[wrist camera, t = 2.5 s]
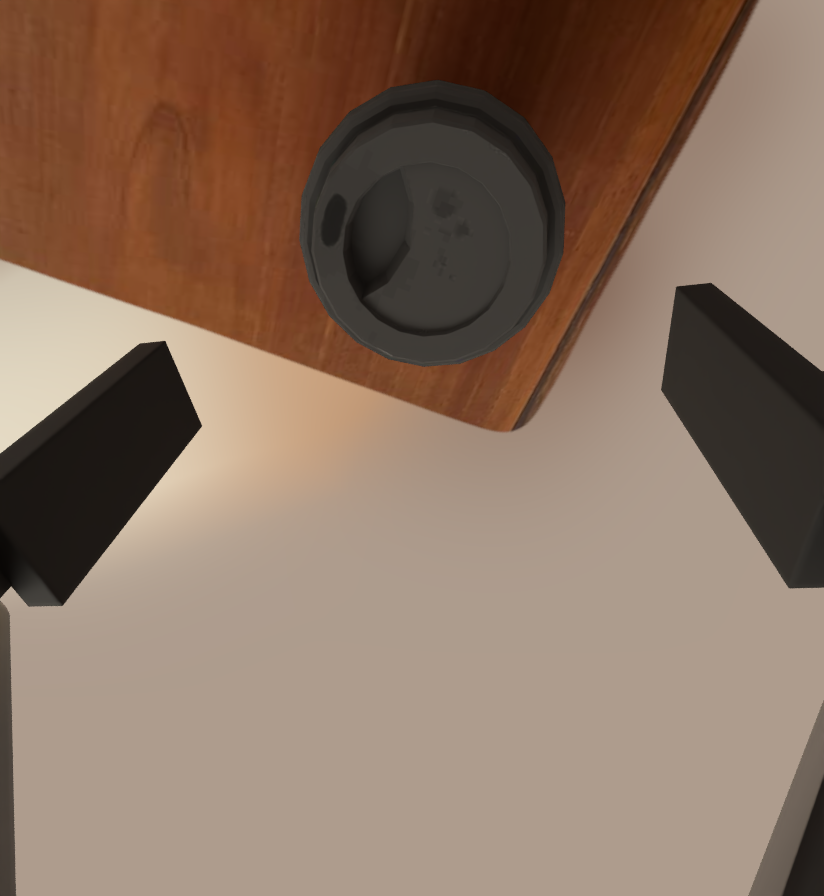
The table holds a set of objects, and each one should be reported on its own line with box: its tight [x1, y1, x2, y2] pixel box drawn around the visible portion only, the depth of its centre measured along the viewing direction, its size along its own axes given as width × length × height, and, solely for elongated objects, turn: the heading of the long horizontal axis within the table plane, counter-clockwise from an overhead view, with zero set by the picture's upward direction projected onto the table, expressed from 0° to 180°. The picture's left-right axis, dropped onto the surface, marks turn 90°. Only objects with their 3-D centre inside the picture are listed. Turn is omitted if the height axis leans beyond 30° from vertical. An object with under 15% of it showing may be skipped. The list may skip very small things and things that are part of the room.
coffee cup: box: [299, 80, 565, 367], centre depth 26 cm, size 11×11×15 cm
